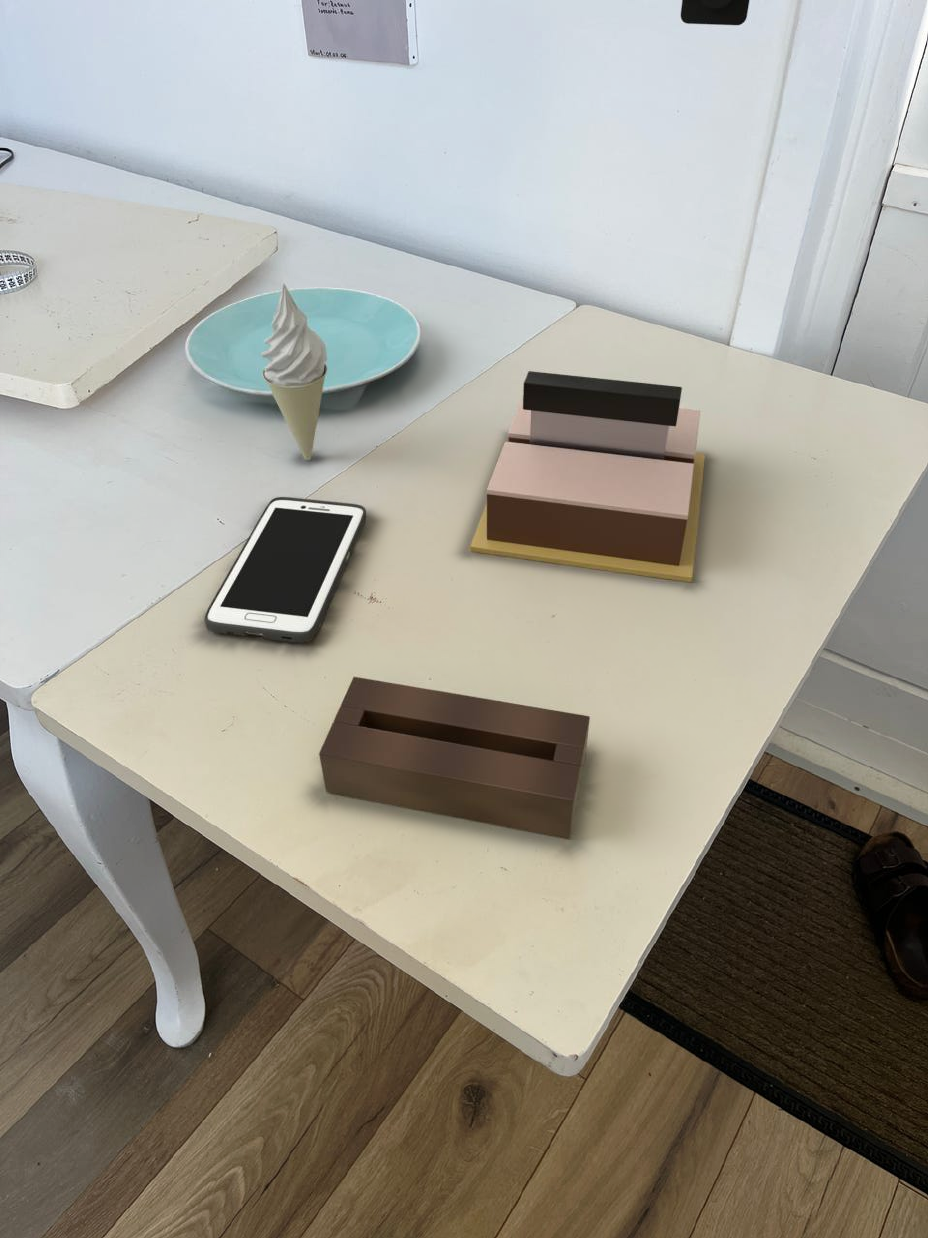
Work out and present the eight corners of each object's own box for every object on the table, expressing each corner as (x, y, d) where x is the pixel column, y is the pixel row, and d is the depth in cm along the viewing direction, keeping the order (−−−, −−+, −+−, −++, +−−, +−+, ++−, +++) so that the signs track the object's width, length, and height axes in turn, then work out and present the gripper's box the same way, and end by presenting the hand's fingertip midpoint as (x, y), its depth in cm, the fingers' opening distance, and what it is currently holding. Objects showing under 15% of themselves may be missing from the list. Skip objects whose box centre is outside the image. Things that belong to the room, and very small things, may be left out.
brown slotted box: (585, 755, 56) (590, 715, 53) (569, 840, 52) (573, 801, 49) (358, 715, 58) (353, 675, 56) (325, 792, 54) (318, 753, 52)
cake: (704, 458, 78) (714, 405, 75) (691, 582, 67) (702, 526, 64) (513, 436, 81) (514, 383, 78) (470, 551, 70) (469, 495, 66)
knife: (664, 499, 73) (682, 386, 67) (662, 513, 72) (680, 399, 66) (524, 481, 75) (528, 370, 69) (520, 494, 74) (523, 382, 68)
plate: (251, 300, 102) (246, 274, 100) (450, 322, 97) (449, 295, 95) (146, 404, 86) (139, 375, 84) (378, 436, 82) (375, 407, 80)
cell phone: (201, 633, 64) (198, 622, 63) (274, 504, 74) (272, 494, 74) (312, 647, 63) (310, 636, 62) (370, 514, 73) (369, 504, 72)
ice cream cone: (349, 462, 79) (329, 286, 68) (294, 483, 77) (265, 304, 66) (320, 436, 82) (297, 263, 72) (267, 455, 80) (235, 280, 69)
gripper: (901, -534, 32) (791, 43, 44) (868, -462, 45) (788, -26, 56) (677, -519, 34) (628, 37, 45) (705, -453, 46) (660, -29, 58)
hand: (717, 2), depth 51 cm, fingers open, 9 cm apart
